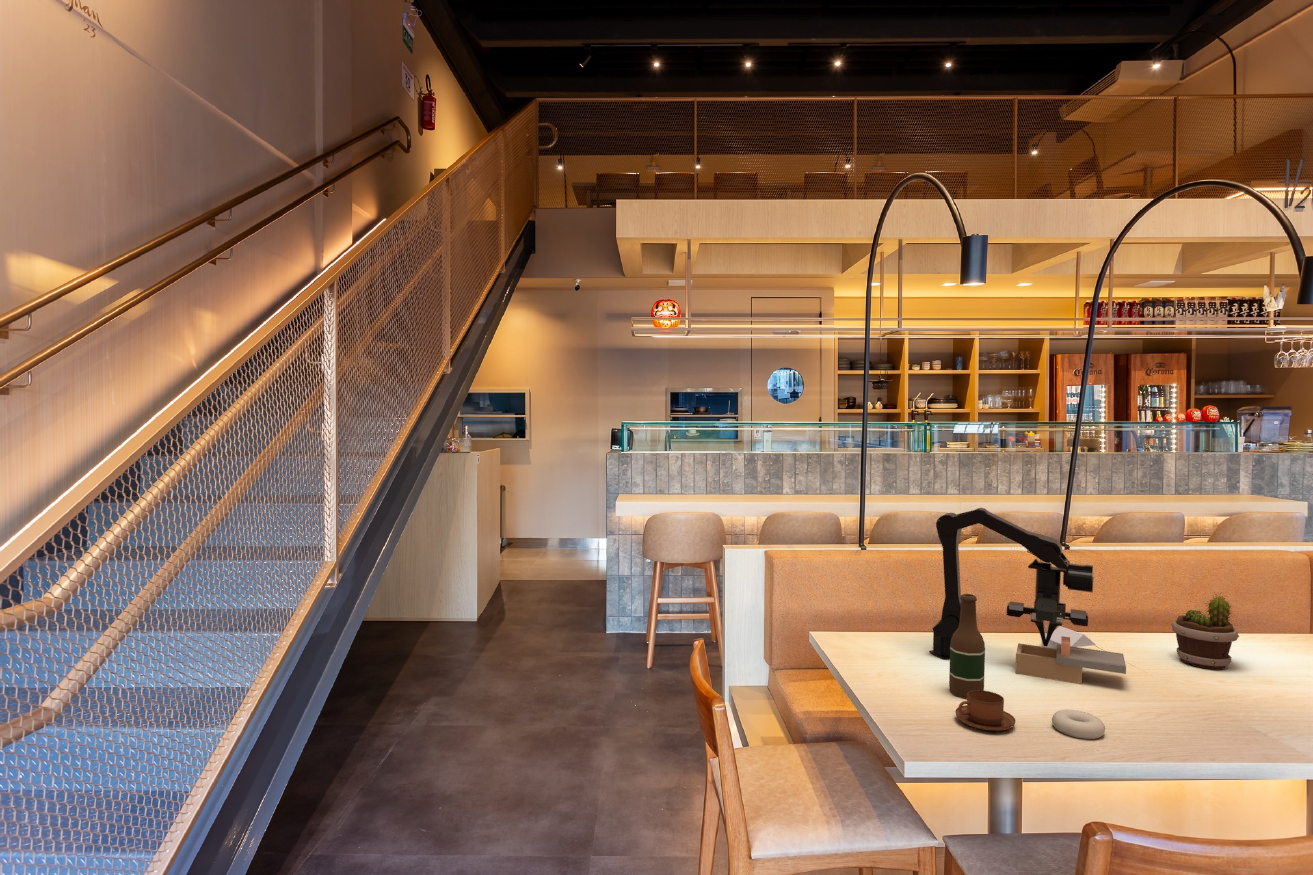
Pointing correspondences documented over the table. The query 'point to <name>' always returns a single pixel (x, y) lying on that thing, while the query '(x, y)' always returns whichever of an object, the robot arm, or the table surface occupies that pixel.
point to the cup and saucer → (985, 711)
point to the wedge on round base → (1075, 637)
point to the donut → (1078, 724)
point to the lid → (1089, 658)
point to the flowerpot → (1206, 635)
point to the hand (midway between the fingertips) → (1045, 645)
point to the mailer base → (1044, 664)
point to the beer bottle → (967, 652)
